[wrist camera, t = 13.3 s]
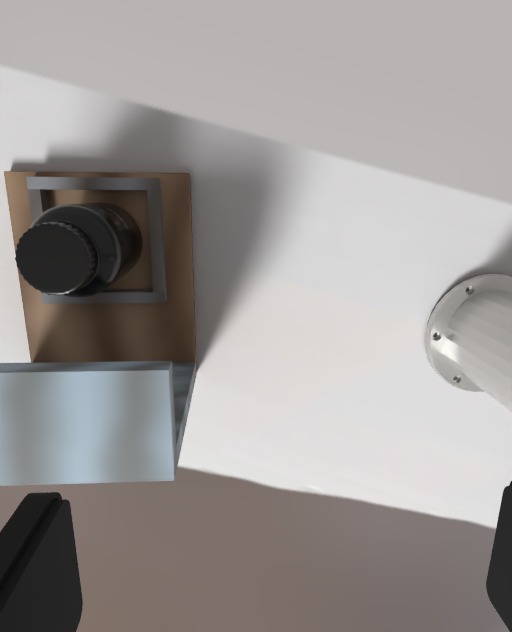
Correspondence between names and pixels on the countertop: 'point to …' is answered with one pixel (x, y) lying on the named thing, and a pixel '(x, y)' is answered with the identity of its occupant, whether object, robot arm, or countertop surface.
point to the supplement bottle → (79, 249)
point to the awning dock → (104, 344)
